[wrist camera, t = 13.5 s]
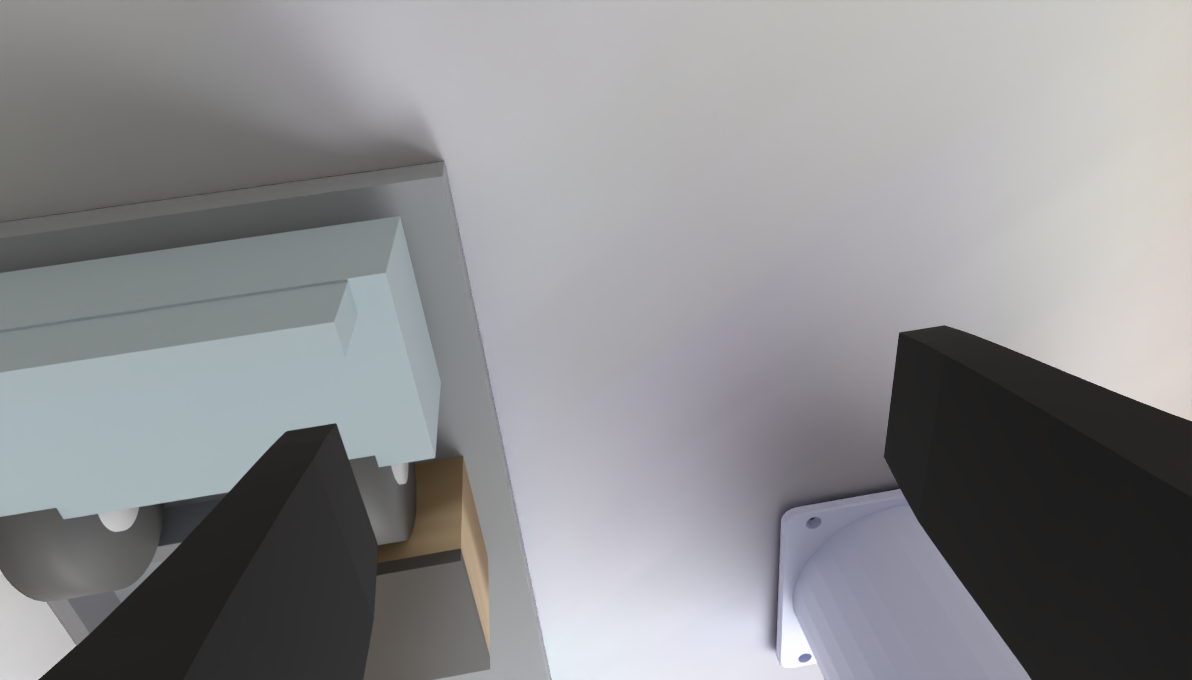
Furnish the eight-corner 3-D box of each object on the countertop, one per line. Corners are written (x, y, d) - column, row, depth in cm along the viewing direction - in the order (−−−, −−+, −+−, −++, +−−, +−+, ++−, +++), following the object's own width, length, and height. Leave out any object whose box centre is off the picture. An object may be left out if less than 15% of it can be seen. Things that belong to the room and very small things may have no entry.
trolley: (403, 203, 17) (375, 312, 12) (464, 456, 21) (460, 612, 16) (-75, 270, 16) (-292, 413, 12) (78, 519, 20) (-42, 702, 15)
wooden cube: (463, 456, 21) (460, 561, 17) (488, 558, 23) (490, 669, 20) (317, 480, 21) (287, 591, 17) (356, 581, 23) (335, 698, 19)
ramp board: (444, 160, 18) (439, 198, 16) (564, 744, 30) (572, 814, 28) (-99, 236, 17) (-190, 287, 15) (250, 805, 29) (231, 882, 27)
